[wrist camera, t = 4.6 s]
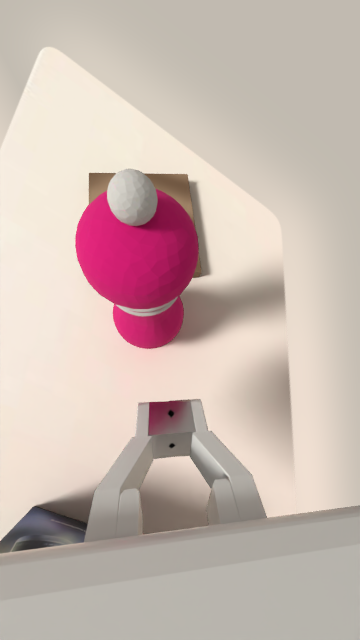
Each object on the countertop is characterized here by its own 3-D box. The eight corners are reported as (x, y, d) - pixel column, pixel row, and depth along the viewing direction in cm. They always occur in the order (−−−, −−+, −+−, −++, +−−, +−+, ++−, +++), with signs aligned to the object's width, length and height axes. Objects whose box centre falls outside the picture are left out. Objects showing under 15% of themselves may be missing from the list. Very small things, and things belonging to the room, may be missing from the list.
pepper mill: (188, 311, 27) (266, 151, 8) (163, 362, 25) (184, 323, 6) (138, 287, 27) (89, 70, 8) (110, 336, 25) (-52, 209, 6)
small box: (136, 532, 20) (115, 687, 10) (110, 618, 19) (55, 907, 9) (34, 500, 20) (-90, 626, 10) (-2, 584, 18) (-195, 838, 8)
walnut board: (199, 277, 28) (201, 272, 27) (92, 282, 26) (88, 277, 25) (186, 183, 32) (187, 174, 31) (92, 182, 30) (89, 172, 29)
